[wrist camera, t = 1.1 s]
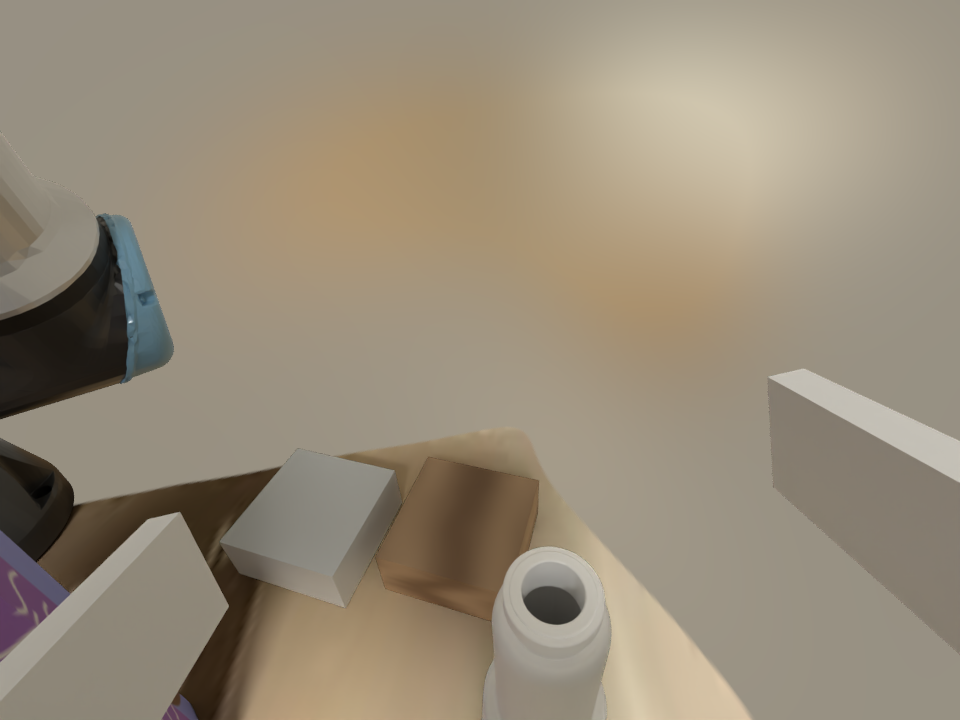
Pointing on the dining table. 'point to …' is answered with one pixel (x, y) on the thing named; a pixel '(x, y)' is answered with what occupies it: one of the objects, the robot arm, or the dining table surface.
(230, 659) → the dining table surface
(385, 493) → the grey stand
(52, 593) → the cereal box
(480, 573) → the walnut stand
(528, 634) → the cosmetic bottle
